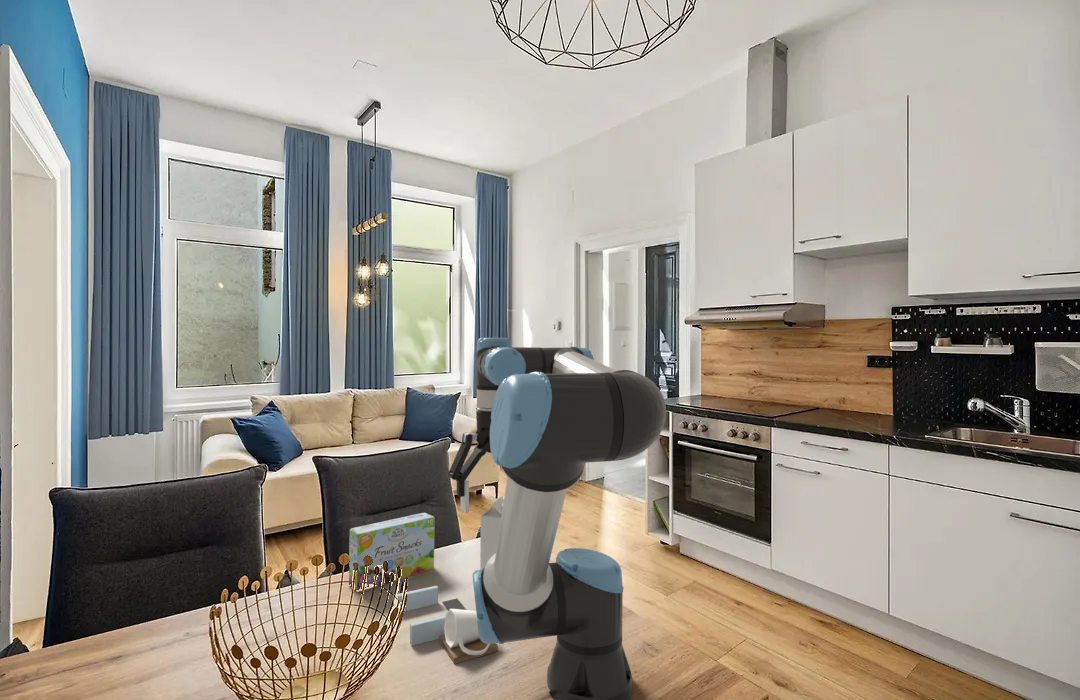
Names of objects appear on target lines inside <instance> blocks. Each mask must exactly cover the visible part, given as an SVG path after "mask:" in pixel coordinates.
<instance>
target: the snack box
mask: <svg viewBox="0 0 1080 700" xmlns="http://www.w3.org/2000/svg"><path fill="white" fill-rule="evenodd" d="M435 519H436V518H435V516H433V515H431V514H429V513H427V512H421V513H415V514H410V515H407V516H402V517H398V518H393V519H388V520H384V521H379V522H375V523H370V524H366V525H361V526H356V527H351V528H350V529H349V537H348V538H349V540H348V541H349V544H348V545H349V549H348V550H349V551H348V553H349V555H348V559H349V558H350V562H349V561H348V562H349V563H348V564H349V568H348V586H349V585H350V584H351V587H352V576H353V569H354V566H353V563H355V562H357V563H359V566H358V570H357V572H356V576H355V591H356V590H359V589H360V587H361V589H362V583H363V580H364V574H365V563H364V561H363V559H364V557H365V556H367V555H368V556H370V557H372V559H373V563H372V564H371V565H369V567H368V573H367V585H368V586H367V587H369V584H371V583H373V582H374V576H375V570H374V567H375V566H377V565H382V564H383V562H384V561H388V572H386V573H385V583H384V585H387V584H390V583H389V581H390V575H389V573H390V572H393V573H394V574H396V575H395V576H396V581H398V580H397V572H396V568H397V567H398V566H400V567H401V569H402V576H401V579H400V580H402V579H406V578H408V577H412V576H415V575H418V574H421V573H425V572H427V571H430V570H434V568H435V530H436V529H435V524H436V522H435ZM382 569H383V567H382V566H381V568H380V573H379V574H378V577H377V580H376V585H379V586H378V587H381V586H382V585H381V582H382ZM380 585H381V586H380ZM351 587H350V588H351ZM365 588H366V587H365ZM375 588H377V586H376V587H375ZM355 591H354V592H355Z"/></svg>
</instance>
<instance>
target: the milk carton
mask: <svg viewBox="0 0 1080 700" xmlns="http://www.w3.org/2000/svg"><path fill="white" fill-rule="evenodd" d="M503 497H504V496H503V494H502V495H500V496H499V497H497V498H496V499H495V500H493V501H492V506H491V507H489V508H488V509H487V510H486V511H485V512H483V513H482V514H481V515H480V537H479V538H480V548H479V549H480V550H479V551H480V553H479V554H480V564H479V566H480V569H481V568H485V566H486V564H487V562H488V561H489V559H490V558H491V557H492V556H493V555H494V554H495V553H496V550H497V543H498V537H499V530H500V523H501V517H502V510H503V503H504V498H503ZM480 569H479V570H480Z"/></svg>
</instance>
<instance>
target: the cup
mask: <svg viewBox="0 0 1080 700" xmlns="http://www.w3.org/2000/svg"><path fill="white" fill-rule="evenodd" d="M445 615H446V618H445V625H444V631H445V639H446V643H447V644H448V646H449V647H450V649H451V648H454V647H458V646H460V648H461V650H462V651H463V652H465V653H467V654H469V655H481V654H483V653H485V652H486V651H487V650H488V647H489V645H490V644H488V645H487V646H486V648H485V649H483V650H481V651H472V650H469V649H467V648H465V647H464V644H467V643H471V642H474V641H476V640H479V639H480V638H479V632H478V623H477V613H476V610H472V609H466V610H461V609H450V610H449V611H448V610H447V613H446V614H445Z"/></svg>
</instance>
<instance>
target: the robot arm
mask: <svg viewBox="0 0 1080 700" xmlns="http://www.w3.org/2000/svg"><path fill="white" fill-rule="evenodd" d="M476 343H477V344H476V352H475V356H476V407H477V408H478V409H477V410H476V432H475V433H469V432H467V431H466V432H463V433H462V435H461V436H462V438H461V444H460V446H459V448H458V450H457V452H456V455H455V456H454V459H453V462H452V463H451V466H450V469H449V470H448V472H447V477H449V478H450V479H451V480H454V481H456V494H457V496H458V497H460V510H461V511H462V512H463V513H465V514H467V513H468V514H469V513H470V481H469V480H467V479H468V477H469V476H470V474H471V473H472V471H473V470H474V469H475V467H476V466H477V465H478V464H479V461H481V459H482V457H484V456H485V455H486V454H487V453H490V454H491V456H492V457H491V458H492V460H493V461H494V463H495V464H496V465H497V466H499V467H500V468H501V470H502V471H503V474H504V475H505V476H506V485H505V492H504V496H503V497H504V498H503V500H504V503H503V510H502V517H501V523H500V530H499V537H498V543H497V550H496V553H495V554H494V555H493V556H492V557H491V558H490V559H489V561H488V562H487V564H486V566H485V568H481V569H477V570H474V571H473V573H472V586H473V593H474V603H475V611H476V613H477V623H478V632H479V638H480V640H481V641H482V642H483V643H486V644H493V643H496V644H499V645H503V644H504V643H511V642H519V641H528V640H533V639H534V640H535V639H541V638H546V637H547V638H548V637H555V636H556V643H555V645H554V648H553V652H552V655H551V659H550V662H549V664H548V667H547V672H546V683H547V688H548V690H549V691H548V693H549V696H550V697H552V699H553V700H630V698H631V696H632V694H633V674H632V671H631V667H630V664H629V660H628V658H627V655H626V652H625V648H624V645H623V604H624V603H623V594H624V593H623V592H624V589H625V588H624V586H623V574H622V573H623V572H622V568H621V565H620V564H619V563H618V561H616V559H615V558H613V557H611V556H610V555H608V554H606V553H603V552H600V551H598V550H594V549H588V548H581V547H580V548H579V547H575V548H574V547H571V548H570V547H569V548H565V549H563V550H561V551H559V552H558V553H557V554H556V555H557V556H556V557H555V562H550V560H551V556H552V552H553V549H554V543H555V540H556V537H557V531H558V528H559V523H560V520H561V516H562V511H563V507H564V502H565V499H566V495H567V491H568V490H569V489H571V488H572V487H574V486H575V485H576V484H577V483H578V482H579V480H581V477H582V475H583V473H584V469H585V465H586V463H588V464H589V463H602V462H605V463H606V462H615V461H618V462H619V461H624V460H628V459H632V458H633V457H636V456H638V455H640V454H642V453H643V452H645V451H646V450H647V449H649V448H650V447H651V446H652V445H653V444H654V443H655V441H656V440H657V439H658V438H659V436H660V434H661V432H662V431H663V429H664V426H665V422H666V415H667V408H666V407H667V406H666V405H667V404H666V401H665V397H664V395H663V393H662V391H661V389H660V388H659V387H658V386H657V385H656V382H654V381H652V380H651V379H650V378H648V377H647V376H645V375H643V374H641V373H639V372H636V371H633V370H629V369H618V370H616V369H614V368H612V367H610V366H607V365H605V364H603V363H601V362H599V361H597V360H595V358H594V355H593V354H592V351H591V350H590V349H588V348H586V347H577V346H570V347H568V346H567V347H565V346H564V347H536V346H535V347H534V346H533V347H531V346H530V347H528V346H527V347H526V346H524V347H522V346H513V347H512V340H511V339H510V338H508V337H480V338H478V339H477V342H476ZM475 441H476V442H477V444H476V445H475V447H474V448H473V451H472V452H471V454H470V455H469V452H470V451H471V448H472V445H473V443H475ZM468 455H469V457H468ZM467 457H468V458H467ZM466 459H467V460H466Z"/></svg>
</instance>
